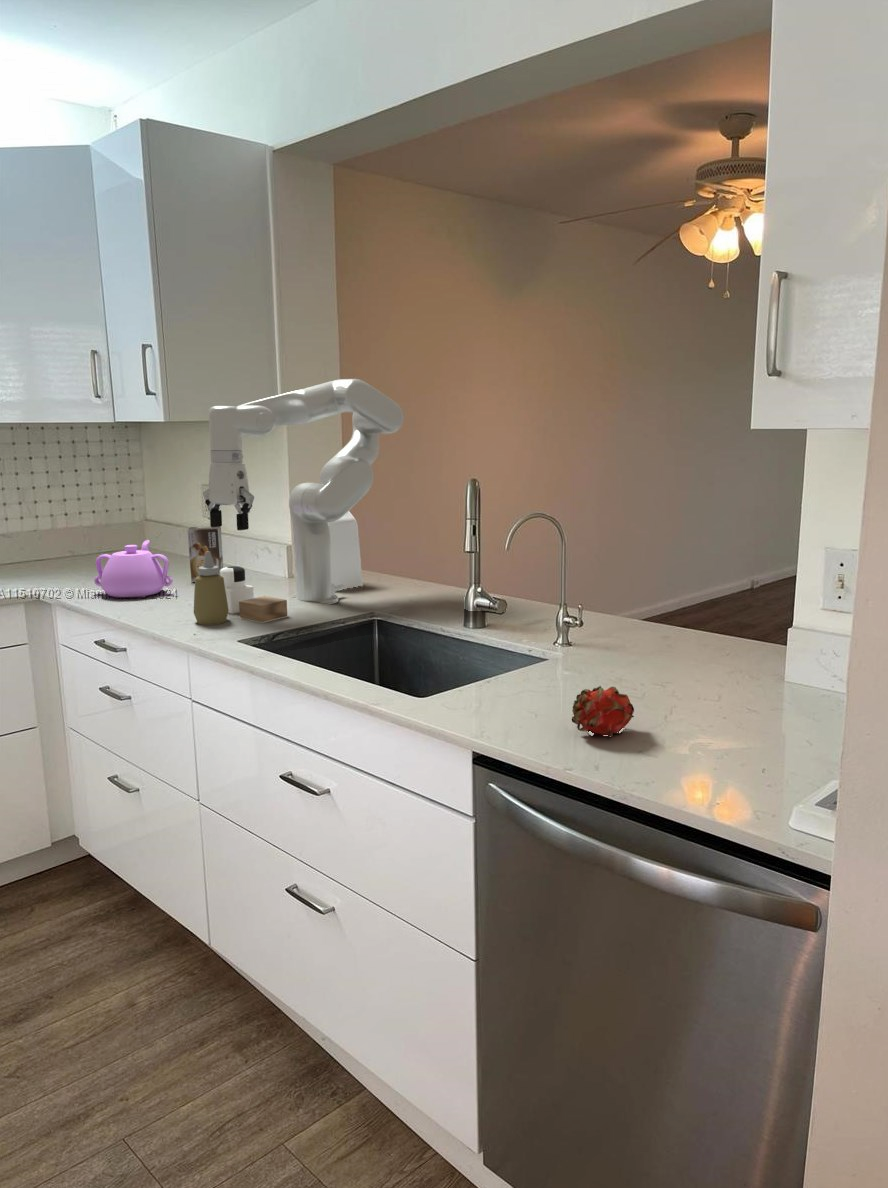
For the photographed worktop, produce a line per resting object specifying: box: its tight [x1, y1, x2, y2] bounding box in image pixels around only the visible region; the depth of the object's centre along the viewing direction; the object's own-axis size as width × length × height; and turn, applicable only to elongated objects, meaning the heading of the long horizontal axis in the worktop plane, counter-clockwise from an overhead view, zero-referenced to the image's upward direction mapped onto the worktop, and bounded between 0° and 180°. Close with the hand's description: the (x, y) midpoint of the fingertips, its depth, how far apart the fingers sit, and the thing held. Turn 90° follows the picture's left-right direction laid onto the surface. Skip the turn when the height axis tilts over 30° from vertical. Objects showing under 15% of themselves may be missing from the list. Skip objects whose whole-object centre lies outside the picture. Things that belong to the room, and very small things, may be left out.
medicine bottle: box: [220, 565, 255, 615], centre depth 228 cm, size 7×7×12 cm
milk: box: [327, 510, 364, 590], centre depth 261 cm, size 12×12×26 cm
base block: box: [239, 595, 288, 623], centre depth 220 cm, size 8×8×4 cm
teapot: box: [94, 539, 174, 598], centre depth 255 cm, size 22×22×14 cm
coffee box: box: [187, 526, 224, 583], centre depth 272 cm, size 9×6×16 cm
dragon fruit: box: [571, 685, 635, 737], centre depth 144 cm, size 8×8×12 cm
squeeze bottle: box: [193, 551, 229, 626], centre depth 214 cm, size 8×8×18 cm
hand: (229, 528), depth 224 cm, fingers open, 9 cm apart
